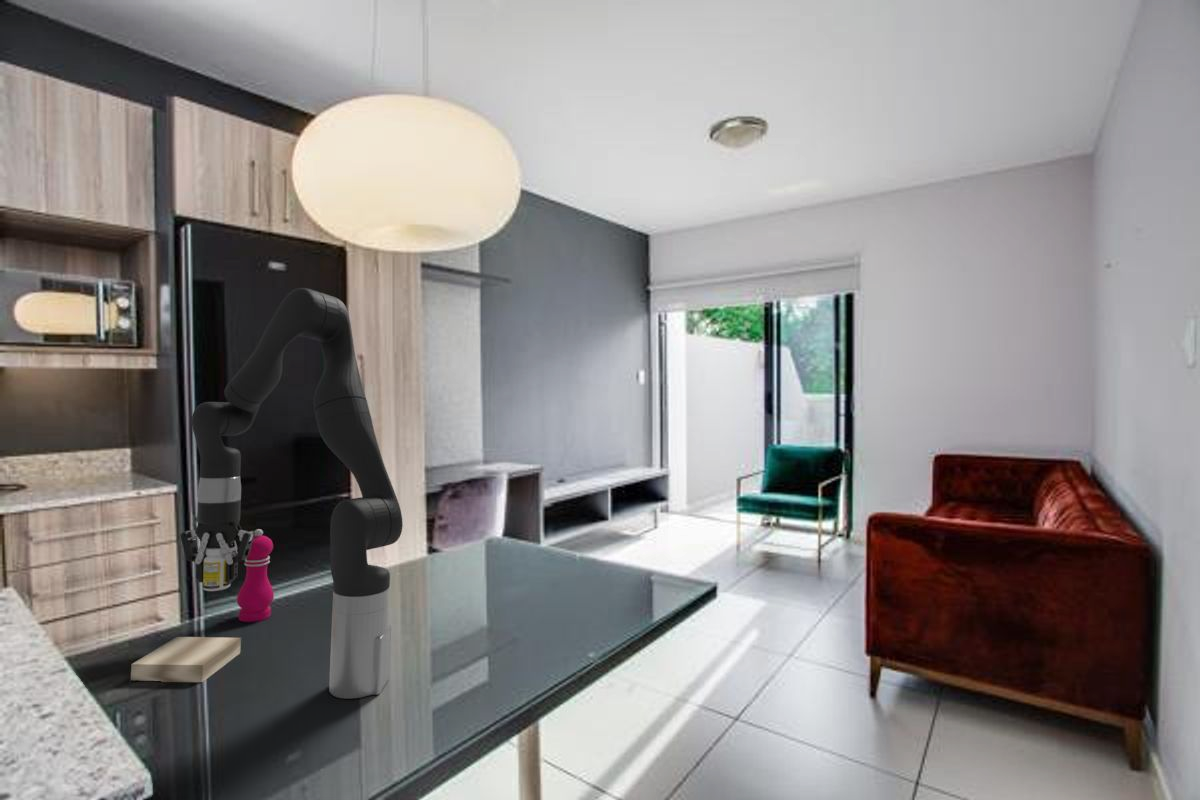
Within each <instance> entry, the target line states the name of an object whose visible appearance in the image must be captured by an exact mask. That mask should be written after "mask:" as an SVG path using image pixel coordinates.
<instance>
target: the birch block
mask: <svg viewBox="0 0 1200 800" xmlns="http://www.w3.org/2000/svg"><path fill="white" fill-rule="evenodd" d="M241 643H242V637H224V636H222V637H220V636H219V637H214V636H212V637H210V636H209V637H207V636H206V637H205V636H202V637H201V636H176V637H175V638H173V639H171V640H170V641H168V642H166V643H164V644H163V645H161V646H159V647H157V648H156V649H155V650H153V651H151V652H150V653H148V654H146V655H144V656H143V657H141V658H139V659H138V660H136V661H135V662H132V663H131V665H130V666H131V668H130V669H131V670H130V681H131V680H154V681H161V682H160V683H204V681H206V680H207V679H209V678H210V677H211V676H213V674H215V673H216V672H218V671H219V670H221V669H222V668H223V667H224V666H225V665H227V664H228V663H229V662H231V661H232V660H233V659H235V658H236V657H238V656H239V655H240V654H241V647H242V646H241Z"/></svg>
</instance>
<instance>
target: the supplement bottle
mask: <svg viewBox="0 0 1200 800" xmlns="http://www.w3.org/2000/svg"><path fill="white" fill-rule="evenodd" d="M206 555H207V557H205V559H204V567H203V582H202V590H204V591H207V592H216V591H222V590H226V589H228V588H229V587H231V582H226V565H227V564H228V563H227V561H226V558H225V555H224V554H223V553H222V550H221V548H206Z"/></svg>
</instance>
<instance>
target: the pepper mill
mask: <svg viewBox="0 0 1200 800" xmlns="http://www.w3.org/2000/svg"><path fill="white" fill-rule="evenodd" d="M253 531H254V532H255V536H254V539H253V542H252V546H251V549H250V552H249V556H248V558H246V559H244V564H243V565H244V566H246V568H245V569H246V575H245V578H244V581H243V583H242V585H241V587H240V589H239V592H238V594H237V598H236V603H237V605H238V607H239V608H241V609H240V610H239V612H238V620H239V621H240V622H243V623H254V622H259V621H260V622H261V621H264V620H265V619H266V620H267V619H268V618H270V617H271V615H272V612H271V611H272V609H271V608H272V607H271V606H270V605H271V603H273V600H274V597H275V595H274V593H275V592H274V589H273V586H272V585H271V582H270V581H269V578H268V564H270V563H271V561H270V560H271V557H270V554H271V553H272V551H273V549H274V543H273V540H272V539H271V538H269V537H268V536H266V535H263V534H264V531H263V530H262V529H260V528H257V529H255V530H253Z"/></svg>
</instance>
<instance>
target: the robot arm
mask: <svg viewBox="0 0 1200 800" xmlns="http://www.w3.org/2000/svg"><path fill="white" fill-rule="evenodd" d="M298 337H301V338H307V339H311V340H315V341H317V342H318V344H319V346H320V349H321V353H322V357H323V365H324V366H323V367H324V368H323V372H322V375H321V377H320V379H319V382H318V383H317V387H316V389H315V391H314V396H313V403H312V404H313V405H312V406H313V412H314V415H315V420H316V424H317V429H318V431H319V435H320V438H321V439H322V441H323V442H324V444H325V445H326V447H328V449H329V450H331V452H332V453H333V454H334V455H335V457H336V458H338V459H339V461H341V462H342V463H343V464H344V466H345V467H346V468H347V469H348V470H349V471H350V473H352V475H353V477H354V479H355V481H356V483H357V485H358V487H359V490H360V493H361V496H362V497H354V498H348V499H344V500H341V501H340V502H338V503H337V504H336V505H335V507H334V509H333V511H332V512H331V513H332V514H331V518H330V527H329V529H330V530H329V532H330V533H329V537H330V539H329V540H330V541H329V542H330V543H329V544H330V575H331V578H332V582H333V588H332V589H333V591H332V609H331V610H332V612H331V633H330V634H331V635H330V636H331V637H330V639H331V640H330V656H329V657H330V659H329V677H328V681H329V686H328V688H329V689H328V691H329V693H330V694H331V695H332V696H333V697H335V698H339V699H347V700H348V699H351V700H352V699H359V698H365V697H368V696H373V695H379V694H381V692H382V690H383V689H384V687H385V686H386V685H387V682H388V681H389V680H390V670H391V669H390V667H391V646H392V645H391V643H392V626H390V625H389V607H390V589H391V587H390V585H391V582H390V581H391V575H390V574H391V573H390V571H389V570H388V569H387V568H385V567H383V566H378V565H373V564H369V563H368V554H367V551H368V550H373V549H378V548H382V547H386V546H390V545H393V544H395V543H397V542H398V540H399V538H400V537H401V535H402V532H403V516H402V510H401V506H400V503H399V500H398V497H397V495H396V492H395V490H394V486H393V485H392V482H391V479H390V476H389V474H388V472H387V471H388V470H387V469H386V466H385V463H384V460H383V457H382V453H381V450H380V448H379V444H378V440H377V436H376V433H375V429H374V424H373V421H372V415H371V412H370V408H369V405H368V399H367V397H366V393H365V391H364V387H363V384H362V379H361V374H360V370H359V366H358V362H357V357H356V352H355V347H354V338H353V330H352V324H351V319H350V315H349V311H348V309H347V306H346V305H345V303H344V302H343V301H342V300H341V299H339V298H337V297H335V296H333V295H331V294H330V295H329V294H327V293H323V292H320V291H318V290H313V289H311V288H306V287H298V288H294V289H292V290H291V291H290V292H288V294H287V295H286V296H285V297H284V298H283V300H282V301H281V303H280V304H279V306H278V307H277V309H276V311H275V312H274V314H273V316H272V318H271V319H270V322H269V323H268V325H267V326H266V328H265V330H264V332H263V333H262V336H261V337H260V340H259V341H258V344H257V345H256V347H255V349H254V350H253V352H252V353H251V354H250V356H249V358H248V359H247V360H246V361H245V363H244V364H243V366H242V367H241V368H239V370H238V371H237V372H236V374H235V375H234V376H232V378H231V380H229V381H228V383H227V384H226V386H225V388H224V392H223V393H224V397H225V399H226V400H227V401H225V402H223V401H221V402H220V401H205V402H202V403H200V404H198V405H197V406H196V408H195V409H194V410H193V412H192V415H191V427H192V428H191V429H192V430H193V431H192V432H193V435H194V438H195V441H196V446H197V449H198V450H197V451H198V452H199V457H200V463H199V464H200V468H199V469H200V470H199V480H198V481H199V482H198V487H197V503H196V504H197V507H196V508H197V510H196V512H197V513H196V521H197V526H196V528H195V529H194V530H193V529H189V530H186V531H184V532H181V533H180V539H181V542H182V548H183V553H184V557H185V560H186V561H188V562H193V563H195V565H196V571H195V573H196V574H195V578H196V579H197V580H198V581H197V582H198V583H203V567H204V559H205V557H207V555H206V548H221V550H222V553H223V554H224V555H225V558H226V561H227V563H228V564H227V565H226V582H230V583H232V582H233V581H235V579H236V578H238V572H239V571H238V568H239V562H242V561H245V559H246V558H248V556H249V552H250V549H251V546H252V542H253V539H254V536H255V532H254V531H255V530H250V531H248V530H245V529H244V530H243V529H242V527H241V525H240V520H241V509H242V507H241V505H242V504H241V503H242V500H241V499H242V483H241V464H242V463H241V461H242V458H241V457H242V455H241V451H240V450H239V449H237V448H234V447H230V446H226V445H225V444H224V442H223V439H222V437H229V436H231V437H232V436H233V437H234V436H240V435H242V434H243V433H246V432H247V431H249V429H250V428H251V427H252V425H253V424H254V421H255V419H256V416H257V414H258V411H259V409H260V406H261V404H262V403H263V402H264V401H265V400H266V398H267V397H268V396H270V394H271V393H272V392H273V390H274V389H275V388H276V387H277V385H278V384H279V382H280V380H281V377H282V373H283V357H284V356H283V355H284V352H285V350H286V348H287V347H288V346H289V345H290V344H291V343H292V341H294V340H295V339H297V338H298ZM238 537H239V542H240V543H239V547H238V545H237V542H236V540H237V538H238ZM197 539H199V541H200V543H199V545H197V544H198V543H197Z"/></svg>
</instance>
